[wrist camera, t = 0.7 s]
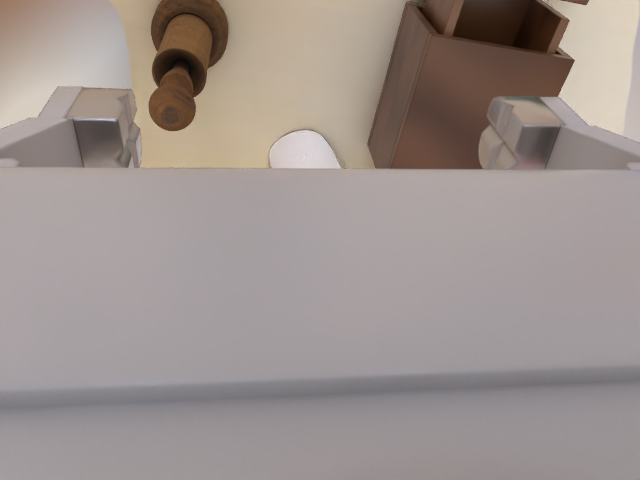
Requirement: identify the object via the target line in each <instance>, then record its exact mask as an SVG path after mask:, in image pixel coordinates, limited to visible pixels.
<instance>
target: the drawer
mask: <svg viewBox="0 0 640 480" xmlns="http://www.w3.org/2000/svg"><path fill="white" fill-rule="evenodd" d="M562 1H567V2H572V3H577V4H582V5H587V3H588V1H589V0H562ZM422 14H423V15H424V17H425V18H426V19H427V20H428V22H429V23H430V24H431V25H432V27H433V28H434V29H435V30H436V32H437V33H438V34H442V35H447V36H453V37H459V38H465V39H470V40H476V41H482V42H488V43H494V44H499V45H505V46H511V47H517V48H523V49H528V50H534V51H540V52H546V53H551V54H555V52H556V50H557V48H558V45H559V43H560V41H561V39H562V36H563V34H564V32H565V30H566V28H567V25H568V23H569V21H570V20H569V19H567V18H566V17H565V16H563V15H562V14H560V13H559V12H557V11H556V10H555V9H553V8H552V7H550V6H549V5H547V4H546V3H544V2H543V1H542V0H425V4H424V7H423V10H422Z"/></svg>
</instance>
